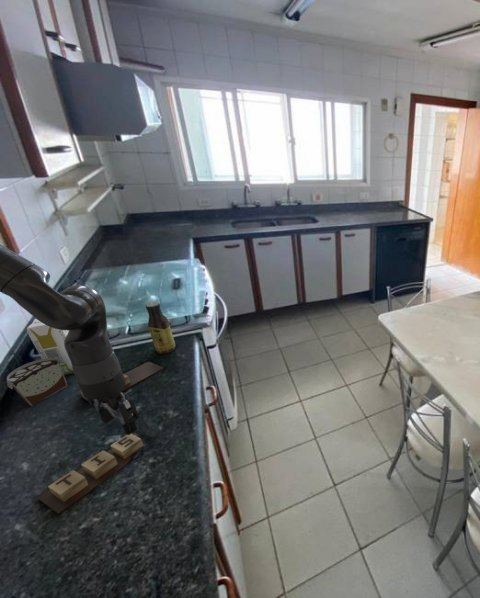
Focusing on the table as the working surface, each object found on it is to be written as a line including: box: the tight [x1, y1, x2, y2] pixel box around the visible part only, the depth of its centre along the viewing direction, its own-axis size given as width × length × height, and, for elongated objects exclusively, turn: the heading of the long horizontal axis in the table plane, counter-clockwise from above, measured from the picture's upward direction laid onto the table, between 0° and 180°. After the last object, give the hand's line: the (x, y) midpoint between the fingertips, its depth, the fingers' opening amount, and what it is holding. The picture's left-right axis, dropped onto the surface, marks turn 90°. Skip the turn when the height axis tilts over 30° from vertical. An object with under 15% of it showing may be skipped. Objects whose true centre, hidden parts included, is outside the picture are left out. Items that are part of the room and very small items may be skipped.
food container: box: [6, 358, 69, 407], centre depth 97 cm, size 12×6×10 cm, turn 168°
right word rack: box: [80, 361, 165, 403], centre depth 106 cm, size 20×8×3 cm, turn 158°
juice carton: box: [26, 317, 74, 376], centre depth 106 cm, size 8×9×19 cm
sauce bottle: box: [145, 301, 177, 355], centre depth 119 cm, size 7×6×20 cm
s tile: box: [109, 433, 144, 459], centre depth 83 cm, size 4×4×3 cm
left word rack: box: [36, 432, 138, 516], centre depth 78 cm, size 20×8×3 cm, turn 158°
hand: (120, 426), depth 80 cm, fingers open, 8 cm apart
